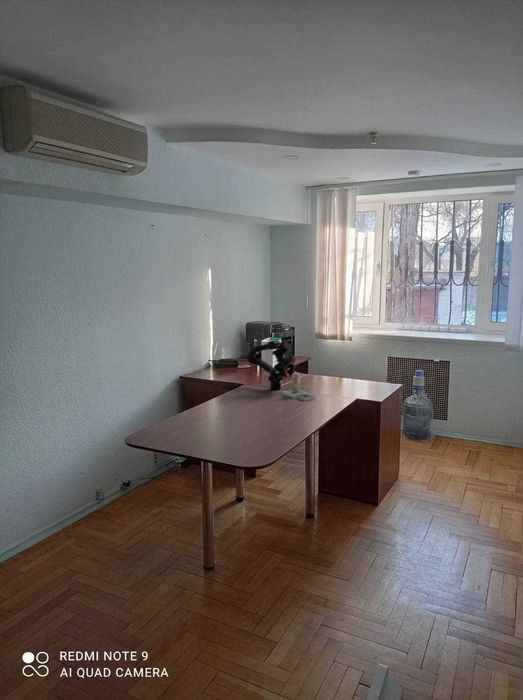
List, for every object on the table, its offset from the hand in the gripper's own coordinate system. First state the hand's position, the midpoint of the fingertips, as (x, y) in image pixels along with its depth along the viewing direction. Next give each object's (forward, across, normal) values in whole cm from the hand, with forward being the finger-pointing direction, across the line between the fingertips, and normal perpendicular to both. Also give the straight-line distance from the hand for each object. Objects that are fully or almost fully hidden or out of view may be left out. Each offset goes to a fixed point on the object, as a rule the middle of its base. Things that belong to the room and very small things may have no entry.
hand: (290, 377), depth 336 cm
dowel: (+12, -4, 0) cm, 13 cm away
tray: (+13, -4, 0) cm, 14 cm away
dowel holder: (+20, -8, -8) cm, 23 cm away
